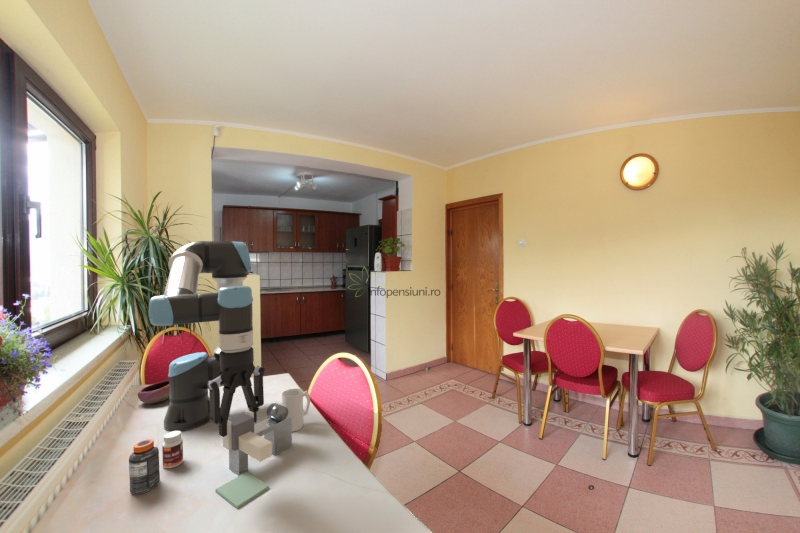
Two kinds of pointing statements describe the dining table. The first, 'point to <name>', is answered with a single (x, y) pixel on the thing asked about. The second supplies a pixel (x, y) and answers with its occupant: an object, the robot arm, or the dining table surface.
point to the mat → (241, 489)
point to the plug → (248, 438)
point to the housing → (266, 436)
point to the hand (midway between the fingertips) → (239, 441)
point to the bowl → (155, 392)
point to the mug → (295, 406)
